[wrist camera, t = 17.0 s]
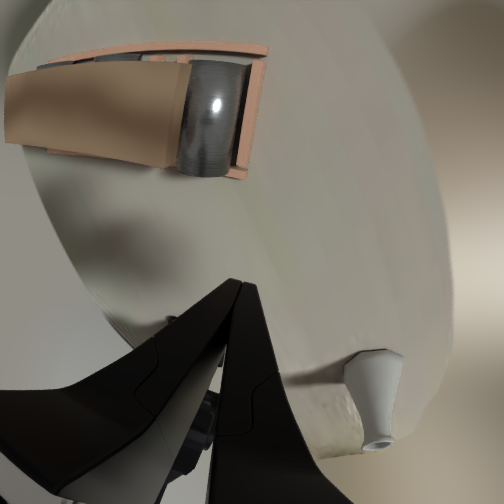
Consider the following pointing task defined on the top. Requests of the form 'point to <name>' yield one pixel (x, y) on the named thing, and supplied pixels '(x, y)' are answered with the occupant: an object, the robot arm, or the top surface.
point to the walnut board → (100, 109)
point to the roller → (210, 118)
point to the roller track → (255, 76)
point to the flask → (374, 393)
